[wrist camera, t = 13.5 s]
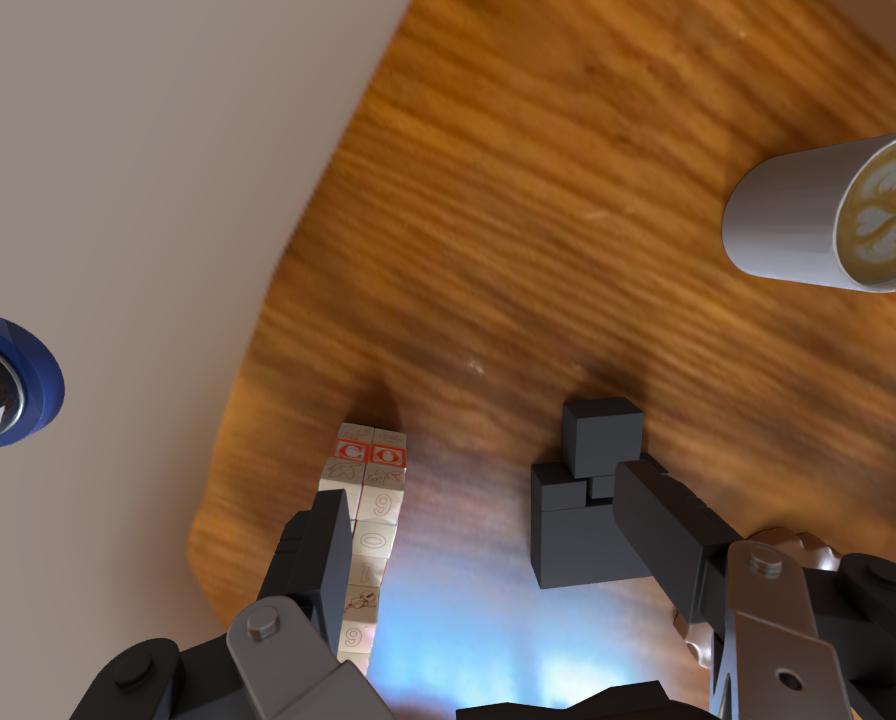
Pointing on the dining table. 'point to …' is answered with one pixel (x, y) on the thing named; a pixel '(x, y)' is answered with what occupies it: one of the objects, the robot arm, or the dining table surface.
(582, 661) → the dining table surface
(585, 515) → the notch pad
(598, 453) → the pad
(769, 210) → the coffee mug
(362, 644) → the stack of blocks
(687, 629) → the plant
